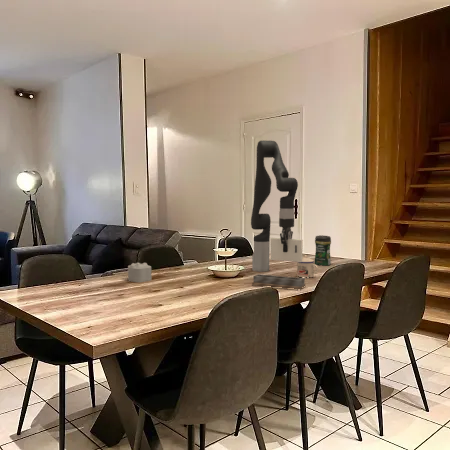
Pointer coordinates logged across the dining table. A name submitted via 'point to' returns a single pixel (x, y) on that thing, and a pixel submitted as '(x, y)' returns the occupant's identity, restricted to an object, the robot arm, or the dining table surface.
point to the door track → (278, 281)
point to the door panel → (293, 250)
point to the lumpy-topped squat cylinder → (139, 272)
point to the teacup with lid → (306, 267)
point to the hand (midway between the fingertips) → (286, 251)
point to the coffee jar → (322, 250)
